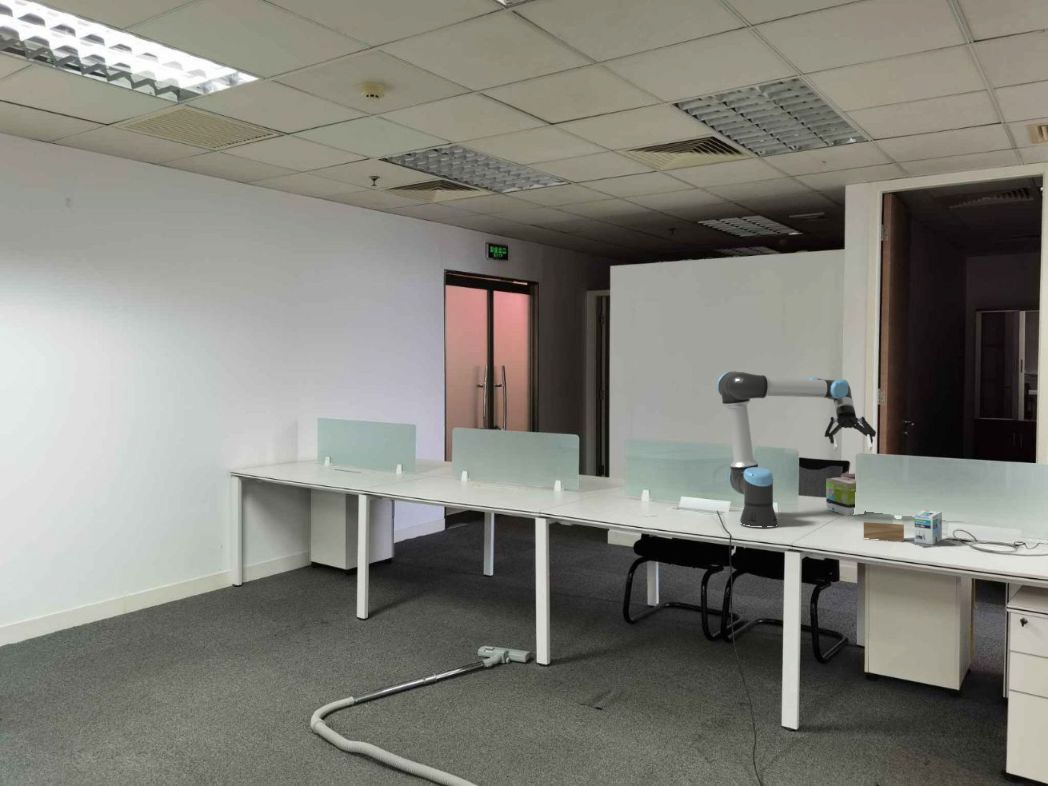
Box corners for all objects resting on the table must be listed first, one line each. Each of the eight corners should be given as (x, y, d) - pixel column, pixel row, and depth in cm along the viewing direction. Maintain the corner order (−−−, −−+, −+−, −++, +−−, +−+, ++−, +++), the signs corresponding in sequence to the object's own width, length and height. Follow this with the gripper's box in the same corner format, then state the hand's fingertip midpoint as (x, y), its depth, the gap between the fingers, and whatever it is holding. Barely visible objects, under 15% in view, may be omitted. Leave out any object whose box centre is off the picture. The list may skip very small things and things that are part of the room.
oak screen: (903, 542, 302) (903, 525, 302) (863, 539, 308) (863, 522, 308) (903, 541, 303) (903, 524, 303) (863, 538, 309) (863, 521, 309)
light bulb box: (933, 545, 295) (933, 516, 294) (913, 542, 300) (913, 514, 299) (942, 539, 302) (942, 511, 302) (923, 537, 307) (923, 509, 307)
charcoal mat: (923, 547, 294) (923, 546, 294) (901, 539, 306) (901, 538, 306) (955, 545, 296) (955, 544, 296) (931, 537, 309) (931, 536, 308)
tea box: (825, 510, 364) (825, 477, 363) (843, 508, 367) (843, 476, 366) (847, 516, 350) (847, 482, 349) (866, 514, 353) (866, 481, 352)
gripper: (874, 415, 347) (883, 454, 333) (813, 415, 351) (820, 454, 337) (877, 403, 341) (886, 443, 327) (815, 404, 346) (822, 443, 332)
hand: (853, 448), depth 332 cm, fingers open, 13 cm apart
